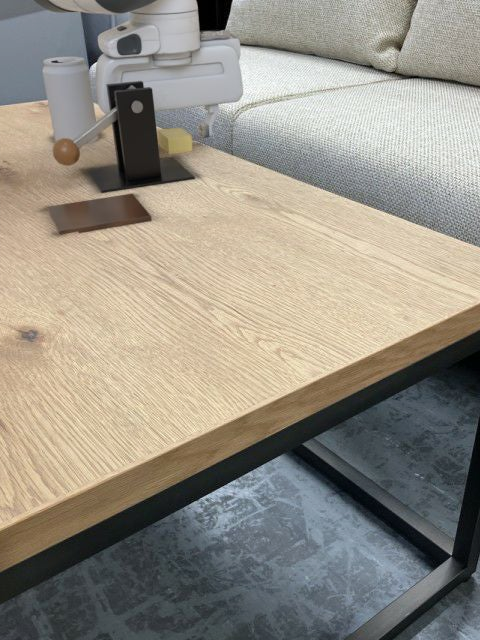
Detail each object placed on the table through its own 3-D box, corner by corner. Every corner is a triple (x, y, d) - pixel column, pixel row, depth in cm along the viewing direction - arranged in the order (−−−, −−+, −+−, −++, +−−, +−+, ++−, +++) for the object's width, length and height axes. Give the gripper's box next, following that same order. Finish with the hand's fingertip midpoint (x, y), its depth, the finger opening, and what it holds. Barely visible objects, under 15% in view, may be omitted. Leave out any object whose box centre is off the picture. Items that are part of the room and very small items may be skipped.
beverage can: (49, 144, 106) (32, 58, 99) (87, 136, 110) (74, 53, 103) (67, 153, 102) (52, 65, 95) (107, 145, 105) (94, 59, 99)
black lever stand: (102, 200, 86) (86, 99, 79) (87, 178, 93) (71, 84, 86) (195, 185, 90) (188, 88, 83) (174, 166, 97) (165, 75, 90)
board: (61, 244, 75) (58, 230, 74) (49, 219, 81) (46, 206, 80) (152, 228, 78) (150, 215, 77) (133, 205, 84) (132, 193, 83)
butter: (169, 160, 99) (167, 138, 97) (159, 150, 103) (157, 130, 101) (193, 156, 100) (191, 135, 99) (182, 147, 104) (180, 127, 102)
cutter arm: (67, 174, 85) (49, 152, 83) (62, 166, 88) (44, 146, 86) (151, 108, 86) (135, 86, 83) (144, 103, 88) (128, 81, 86)
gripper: (231, 25, 99) (235, 126, 106) (85, 37, 92) (101, 144, 99) (247, 31, 94) (251, 137, 102) (95, 44, 87) (111, 156, 95)
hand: (176, 140), depth 100 cm, fingers open, 8 cm apart
